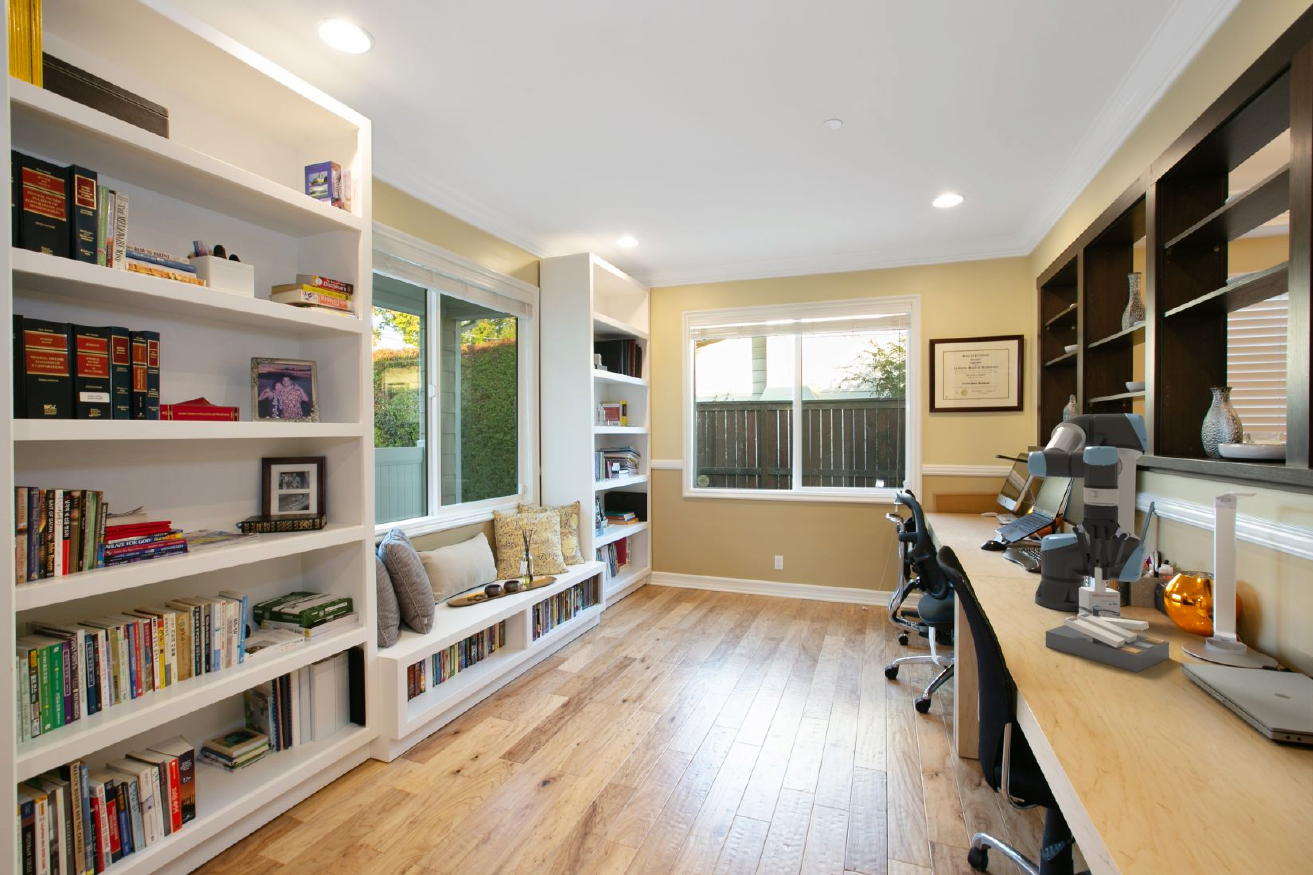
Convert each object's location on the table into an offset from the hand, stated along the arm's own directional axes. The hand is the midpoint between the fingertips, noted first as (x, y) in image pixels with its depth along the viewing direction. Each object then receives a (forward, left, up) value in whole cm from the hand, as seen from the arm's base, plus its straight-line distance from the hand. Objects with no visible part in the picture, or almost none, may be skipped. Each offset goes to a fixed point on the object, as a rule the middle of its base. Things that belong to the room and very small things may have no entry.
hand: (1100, 591), depth 160 cm
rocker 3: (0, +4, -7) cm, 8 cm away
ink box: (-11, -5, -14) cm, 19 cm away
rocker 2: (+7, +4, -7) cm, 11 cm away
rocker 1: (+13, +4, -7) cm, 16 cm away
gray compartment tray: (+7, +4, -14) cm, 16 cm away
